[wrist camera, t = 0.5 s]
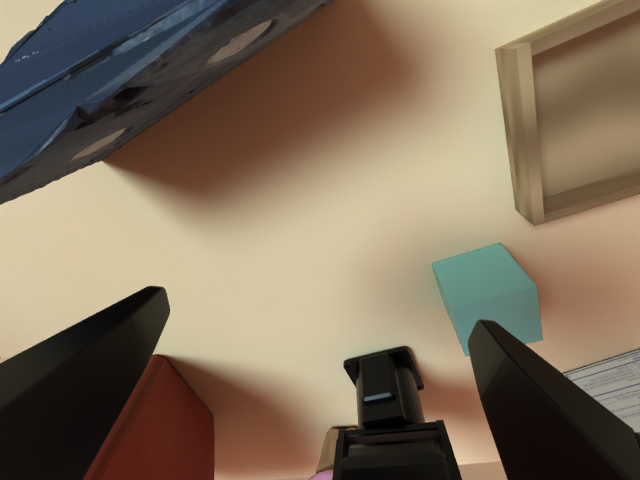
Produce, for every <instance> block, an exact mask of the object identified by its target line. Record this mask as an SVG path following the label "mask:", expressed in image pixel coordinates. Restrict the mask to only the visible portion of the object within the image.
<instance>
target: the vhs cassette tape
mask: <svg viewBox="0 0 640 480" xmlns="http://www.w3.org/2000/svg"><path fill="white" fill-rule="evenodd" d="M331 1H332V0H65V1H64V2H62V3H61V4H60V5H59V6H58V7H57V8H56V9H55V10H54V11H53V12H52V13H51V14H50V15H49V16H46V17H45V18H44V20H43V21H42V22H41V23H40V24H39V26H38V27H37V28H36V29H35V30H32V31H29V32H28V33H27V34H26V35H25V36H24V37H23V38H22V39H20V40H19V41H18V42H17V43H16V44H15V45H14V46H12V48H11V49H10V51H9V53H8V55H7V56H6V58H5V60H4V62H2V63H1V64H0V205H1V204H3V203H4V202H7V201H10V200H14V199H16V198H18V197H20V196H22V195H24V194H27V193H30V192H32V191H34V190H35V189H39V188H42V187H44V186H46V185H47V184H49V183H51V182H52V181H56V180H59V179H61V178H62V177H64V176H66V175H68V174H71V173H73V172H76V171H77V170H79V169H83V168H84V167H86V166H89V165H92V164H94V163H97V162H99V161H102V160H103V159H105V158H106V157H107V156H108V155H109V154H111V153H112V152H113V151H115V150H117V149H119V148H121V147H122V145H124V144H126V143H127V142H129V141H130V140H132V139H133V138H135V137H136V136H137V135H139V134H140V133H142V132H143V131H145V130H146V129H147V128H149V127H150V126H152V125H153V124H155V123H156V122H158V121H159V120H161V119H162V118H164V117H165V116H167V115H168V114H169V113H171V112H172V111H174V110H175V109H177V108H178V107H179V106H181V105H182V104H184V103H185V102H187V101H189V100H190V99H191V98H193V97H194V96H195V95H197V94H198V93H200V92H201V91H203V90H204V89H205V88H207V87H208V86H210V85H211V84H213V83H214V82H216V81H217V80H218V79H220V78H221V77H223V76H224V75H226V74H227V73H229V72H230V71H232V70H233V69H235V68H236V67H237V66H239V65H240V64H242V63H243V62H245V61H246V60H248V59H249V58H250V57H252V56H253V55H255V54H256V53H258V52H259V51H261V50H262V49H264V48H265V47H266V46H268V45H269V44H271V43H272V42H274V41H275V40H277V39H278V38H279V37H281V36H282V35H284V34H285V33H286V32H288V31H289V30H291V29H292V28H294V27H295V26H297V25H298V24H300V23H301V22H302V21H304V20H305V19H307V18H308V17H309V16H311V15H312V14H313V13H315V12H316V11H318V10H319V9H321V8H322V7H324V6H325V5H326V4H328V3H329V2H331Z"/></svg>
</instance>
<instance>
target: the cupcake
mask: <svg viewBox="0 0 640 480" xmlns="http://www.w3.org/2000/svg"><path fill="white" fill-rule="evenodd" d="M349 429H357V428H348V429H345V430H349ZM338 431H339V429H330V430H329V431H328V432H327V434H326V437H325V440H324V444H323V448H322V453H321V458H320V462H319V465H318V467H317V470H316V474H315V475H313V476H312V477H310V478H309V480H332V477H333V467H334V458H335V448H336V439H338Z"/></svg>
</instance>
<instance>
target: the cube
mask: <svg viewBox="0 0 640 480" xmlns="http://www.w3.org/2000/svg"><path fill="white" fill-rule="evenodd" d="M432 266H433V270H434V273H435V276H436V279H437V282H438V286H439V289H440V292H441V295H442V298H443V302H444V305H445V308H446V310H447V313H448V315H449V317H450V320H451V322H452V325H453V327H454V329H455V332H456V334H457V336H458V339H459V341H460V344H461V346H462V348H463V351H464V353H465V356H470V354H469V349H468V339H469V336H470V334H471V332H472V330H473V328H474V325H475V323H476V322H477V321H478V320H479V319H486V320H493V321H495V322H497V323H498V324H499V325H501V326H502V327H503V328H504V329H506V330H507V331H508V332H510V333H511V334H512V335H513V336H515V337H516V338H517V339H519V340H520V341H521V342H522V343H524V344H526V343H531V342H535V341H540V340H543V337H542V328H541V319H540V309H539V300H538V291H537V286H536V284H535V283H534V282H533V281H532V280H531V279H530V277H529V276H528V275H527V274H526V273H525V272H524V270H523V269H522V268H521V267H520V266H519V264H518V263H517V262H516V261H515V260H514V259H513V257H512V256H511V255H510V254H509V253H508V252H507V250H506V249H505V248H504V247H503V246H502V244H501V243H497V244H494V245H491V246H487V247H484V248H481V249H477V250H474V251H471V252H467V253H464V254H461V255H457V256H454V257H451V258H447V259H444V260H441V261H437V262H434V263H432Z"/></svg>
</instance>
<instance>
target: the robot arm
mask: <svg viewBox="0 0 640 480" xmlns="http://www.w3.org/2000/svg"><path fill="white" fill-rule="evenodd" d="M169 314H170V306H169V302H168V297H167V293H166V290H165V288H163V287H159V286H148V287H146V288H144V289H142V290H140V291H138V292H136V293H134V294H132V295H130V296H128V297H127V298H125V299H123V300H121V301H119V302H117V303H115V304H113V305H111V306H109V307H107V308H105V309H104V310H102V311H100V312H98V313H96V314H94V315H92V316H90V317H88V318H86V319H84V320H82V321H81V322H79V323H77V324H75V325H73V326H71V327H69V328H67V329H65V330H63V331H61V332H59V333H58V334H56V335H54V336H52V337H50V338H48V339H46V340H44V341H42V342H40V343H38V344H36V345H34V346H33V347H31V348H29V349H27V350H25V351H23V352H21V353H19V354H17V355H15V356H13V357H11V358H10V359H8V360H6V361H4V362H2V363H0V480H83V479H84V477H85V476H86V474H87V472H88V470H89V469H90V467H91V465H92V463H93V461H94V460H95V458H96V456H97V454H98V453H99V451H100V449H101V447H102V445H103V444H104V442H105V440H106V438H107V437H108V435H109V433H110V431H111V429H112V428H113V426H114V424H115V422H116V421H117V419H118V417H119V415H120V413H121V412H122V410H123V408H124V406H125V405H126V403H127V401H128V399H129V397H130V396H131V394H132V392H133V390H134V389H135V387H136V385H137V383H138V381H139V380H140V378H141V376H142V374H143V373H144V371H145V369H146V367H147V365H148V363H149V361H150V359H151V357H152V354H153V352H154V350H155V347H156V345H157V343H158V340H159V338H160V336H161V333H162V331H163V329H164V326H165V324H166V322H167V319H168V317H169ZM468 349H469V354H470V358H471V362H472V367H473V371H474V375H475V380H476V384H477V388H478V392H479V396H480V400H481V403H482V406H483V409H484V412H485V415H486V418H487V421H488V424H489V427H490V430H491V432H492V435H493V438H494V441H495V444H496V447H497V450H498V453H499V456H500V459H501V461H502V464H503V467H504V470H505V473H506V476H507V479H508V480H640V434H639V433H638V432H634V430H633V428H631V427H630V426H629V425H628V424H626V423H625V422H624V421H622V420H621V419H620V418H619V417H617V416H616V415H615V414H613V413H612V412H611V411H610V410H608V409H607V408H606V407H604V406H603V405H602V404H601V403H599V402H598V401H597V400H595V399H594V398H593V397H592V396H590V395H589V394H588V393H586V392H585V391H584V390H583V389H581V388H580V387H579V386H578V385H576V384H575V383H574V382H572V381H571V380H570V379H569V378H567V377H566V376H565V375H563V374H562V373H561V372H560V371H558V370H557V369H556V368H554V367H553V366H552V365H551V364H549V363H548V362H547V361H545V360H544V359H543V358H542V357H540V356H539V355H538V354H536V353H535V352H534V351H533V350H531V349H530V348H529V347H527V346H526V345H525V344H524V343H522V342H521V341H520V340H519V339H517V338H516V337H515V336H513V335H512V334H511V333H510V332H508V331H507V330H506V329H504V328H503V327H502V326H501V325H499V324H498V323H497V322H495V321H493V320H486V319H479V320H478V321H477V322H476V323H475V325H474V328H473V330H472V332H471V334H470V336H469V339H468ZM343 366H344V369H345V370H346V372H347V374H348V375H349V377H350V379H351V380H352V382H353V383H354V385H355V387H356V391H357V410H358V429H349V430H345V429H339V431H338V439H336V448H335V458H334V467H333V477H332V480H462V478H461V475H460V471H459V468H458V465H457V462H456V459H455V456H454V452H453V449H452V446H451V443H450V440H449V437H448V434H447V431H446V428H445V425H444V422H443V420H436V422H427V423H425V419H424V415H423V411H422V407H421V402H420V398H419V394H418V391H419V390H423V389H424V384H423V381H422V379H421V377H420V374H419V372H418V370H417V367H416V365H415V363H414V360H413V358H412V356H411V353H410V351H409V349H408V348H407V347H400V348H395V349H391V350H387V351H383V352H378V353H374V354H370V355H366V356H362V357H357V358H353V359H349V360H345V361H344V363H343Z"/></svg>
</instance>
